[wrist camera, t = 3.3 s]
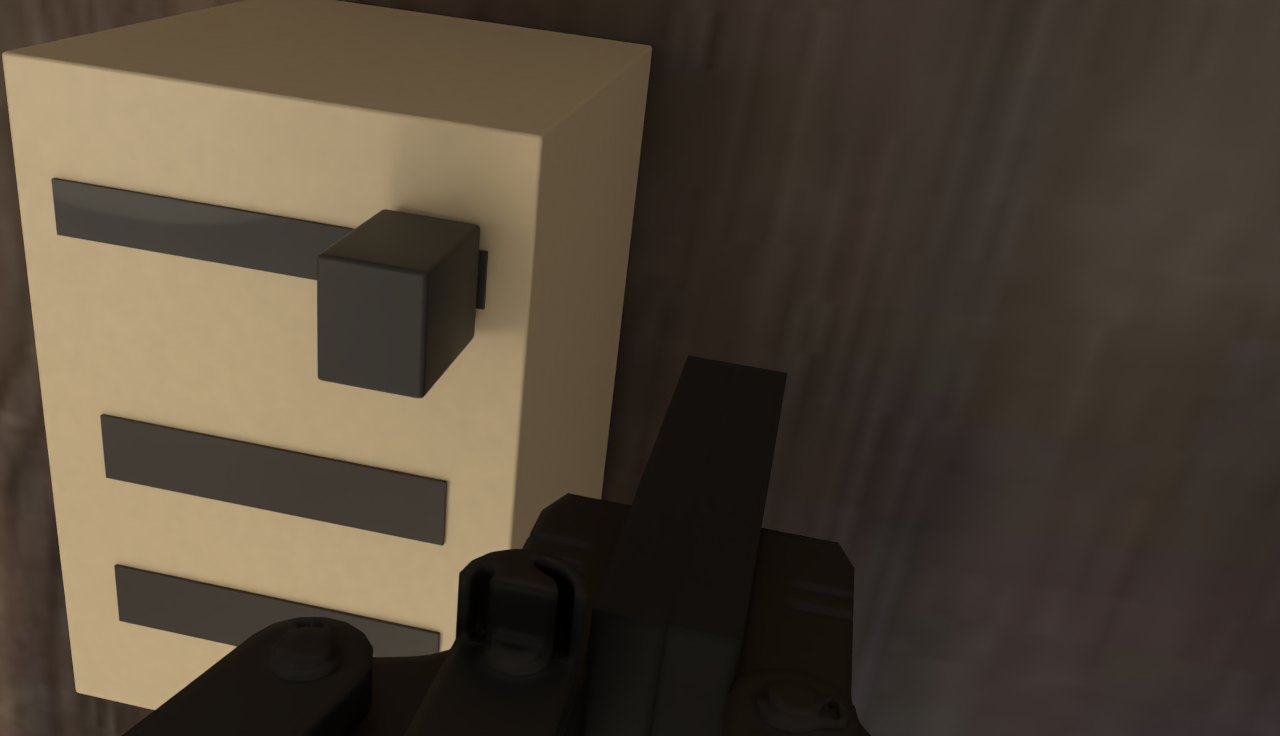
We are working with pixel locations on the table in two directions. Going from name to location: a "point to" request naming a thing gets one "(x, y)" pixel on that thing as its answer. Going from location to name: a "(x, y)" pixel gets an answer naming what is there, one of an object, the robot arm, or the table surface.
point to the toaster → (308, 315)
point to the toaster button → (396, 302)
